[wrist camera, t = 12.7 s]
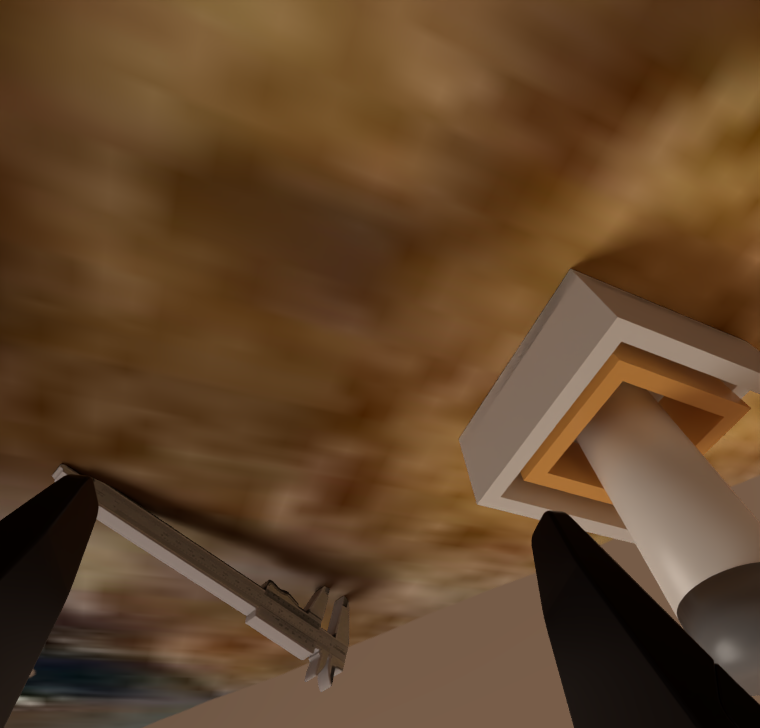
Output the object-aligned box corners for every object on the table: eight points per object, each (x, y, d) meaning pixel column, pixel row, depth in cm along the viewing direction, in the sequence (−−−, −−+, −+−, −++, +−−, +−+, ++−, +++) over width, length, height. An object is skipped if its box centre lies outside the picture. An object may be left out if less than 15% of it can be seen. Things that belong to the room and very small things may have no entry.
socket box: (458, 438, 27) (477, 504, 23) (570, 268, 22) (617, 317, 18) (614, 483, 29) (653, 548, 26) (746, 341, 24) (819, 396, 21)
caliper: (349, 594, 35) (350, 692, 30) (339, 601, 35) (338, 698, 30) (64, 459, 26) (-6, 562, 21) (54, 470, 27) (-16, 574, 22)
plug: (546, 406, 25) (689, 671, 14) (613, 355, 23) (827, 610, 13) (592, 443, 26) (750, 706, 16) (657, 397, 25) (880, 655, 14)
